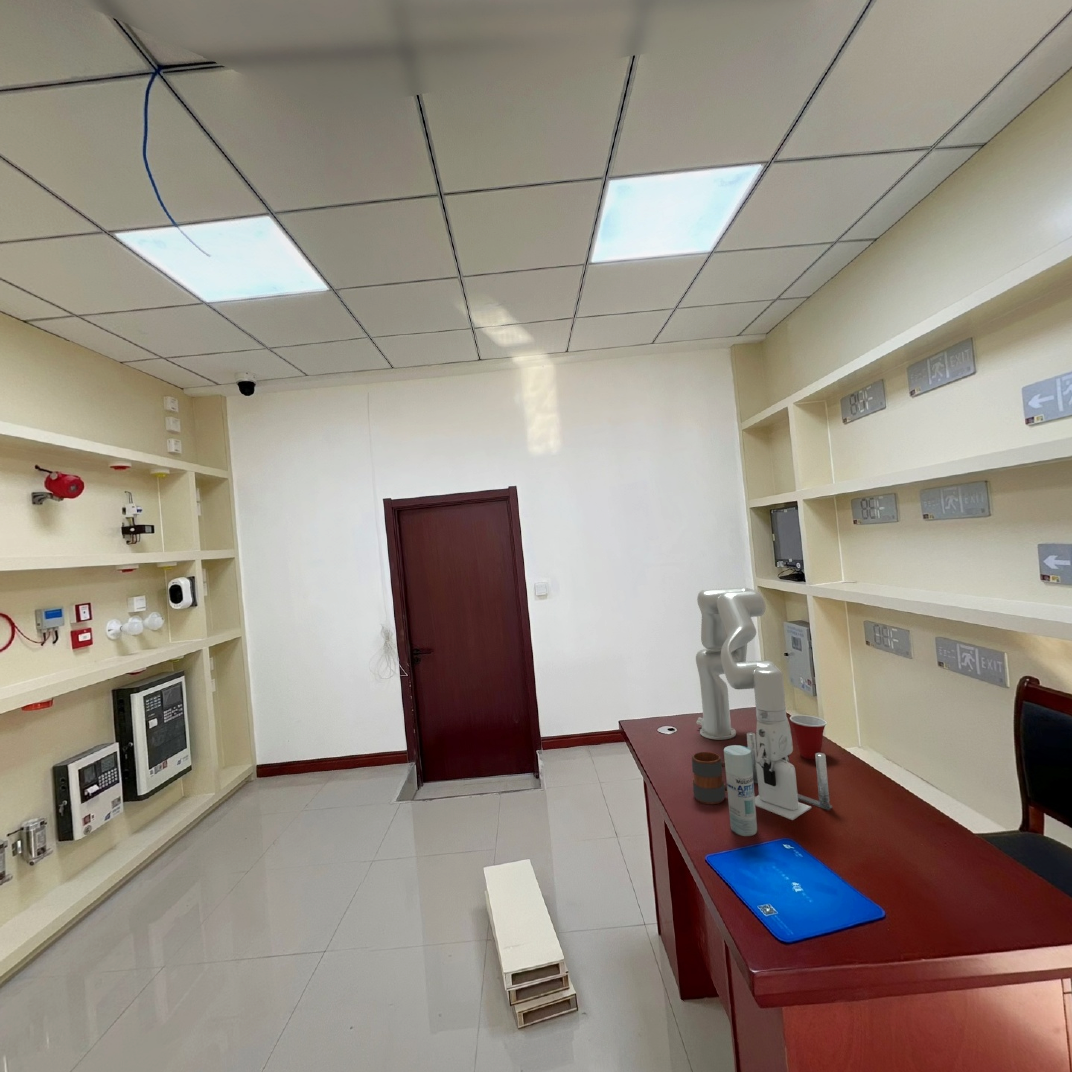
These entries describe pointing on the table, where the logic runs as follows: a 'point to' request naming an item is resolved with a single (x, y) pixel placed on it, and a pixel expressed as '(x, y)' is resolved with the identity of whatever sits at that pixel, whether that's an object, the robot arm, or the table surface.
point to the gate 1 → (753, 753)
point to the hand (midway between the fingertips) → (776, 780)
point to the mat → (782, 808)
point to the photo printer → (779, 785)
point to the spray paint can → (740, 790)
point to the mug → (708, 778)
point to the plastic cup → (808, 734)
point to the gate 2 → (820, 784)
